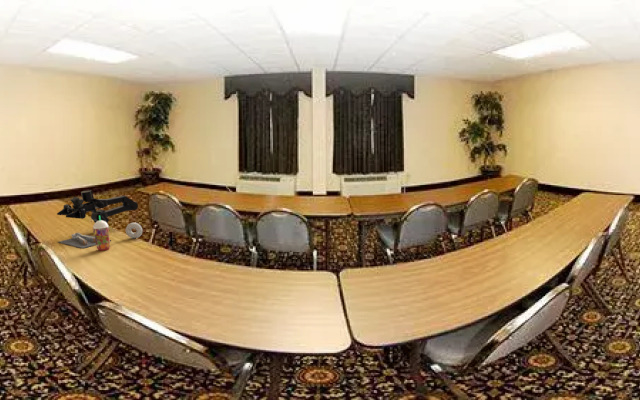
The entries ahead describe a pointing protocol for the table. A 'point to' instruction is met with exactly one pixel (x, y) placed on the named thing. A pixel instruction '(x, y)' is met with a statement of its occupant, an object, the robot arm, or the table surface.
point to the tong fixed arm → (84, 237)
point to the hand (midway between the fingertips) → (61, 215)
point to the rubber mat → (78, 243)
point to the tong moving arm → (81, 240)
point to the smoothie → (101, 235)
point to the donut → (130, 233)
